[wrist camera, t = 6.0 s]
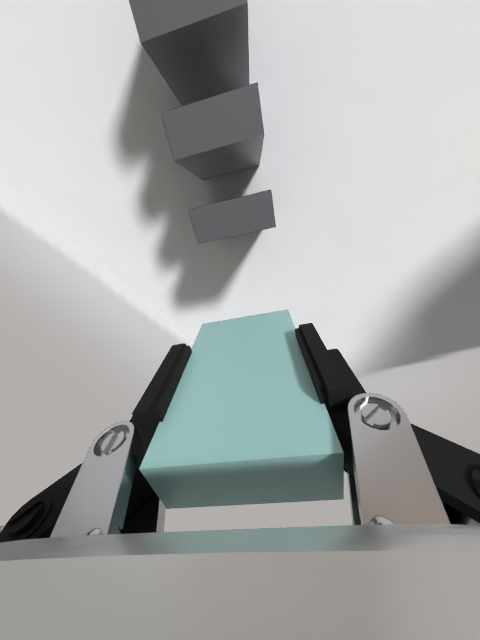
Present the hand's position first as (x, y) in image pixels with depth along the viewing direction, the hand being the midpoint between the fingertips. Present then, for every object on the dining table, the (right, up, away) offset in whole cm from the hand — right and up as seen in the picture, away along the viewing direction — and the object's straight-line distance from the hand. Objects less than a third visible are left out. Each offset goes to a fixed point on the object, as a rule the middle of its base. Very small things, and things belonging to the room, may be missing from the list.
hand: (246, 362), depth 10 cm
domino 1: (-2, +20, +6) cm, 21 cm away
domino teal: (0, +1, +3) cm, 3 cm away
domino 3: (0, +12, +10) cm, 15 cm away
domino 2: (-1, +16, +8) cm, 18 cm away
